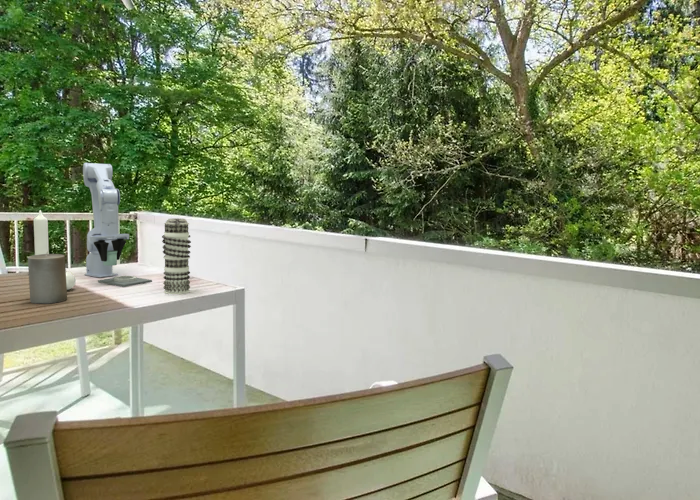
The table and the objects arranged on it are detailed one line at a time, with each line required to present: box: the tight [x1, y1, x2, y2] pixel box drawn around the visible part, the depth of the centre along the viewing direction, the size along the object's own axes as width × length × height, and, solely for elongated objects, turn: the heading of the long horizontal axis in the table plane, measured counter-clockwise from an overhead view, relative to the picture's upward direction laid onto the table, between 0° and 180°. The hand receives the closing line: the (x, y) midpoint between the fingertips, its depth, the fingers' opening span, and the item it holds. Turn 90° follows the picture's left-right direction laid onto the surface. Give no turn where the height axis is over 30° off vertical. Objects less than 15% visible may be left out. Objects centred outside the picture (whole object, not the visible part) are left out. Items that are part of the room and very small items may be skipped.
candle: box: [33, 209, 50, 255], centre depth 189 cm, size 7×7×25 cm
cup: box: [103, 250, 118, 267], centre depth 179 cm, size 5×5×5 cm
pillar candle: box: [27, 252, 68, 304], centre depth 150 cm, size 10×10×15 cm
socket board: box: [97, 275, 153, 288], centre depth 183 cm, size 14×12×2 cm
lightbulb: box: [66, 270, 77, 291], centre depth 163 cm, size 6×6×11 cm
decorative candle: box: [161, 217, 192, 295], centre depth 168 cm, size 9×9×25 cm
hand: (110, 260), depth 179 cm, fingers closed on cup, 5 cm apart
